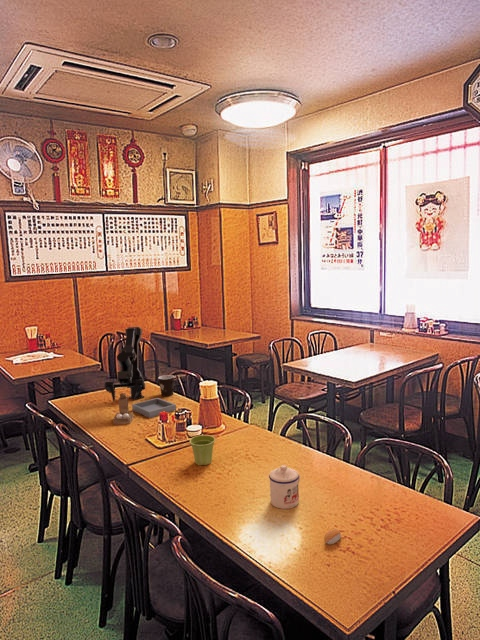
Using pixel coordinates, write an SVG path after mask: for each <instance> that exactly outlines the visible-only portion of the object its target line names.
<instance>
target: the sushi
mask: <svg viewBox="0 0 480 640" xmlns="http://www.w3.org/2000/svg"><path fill="white" fill-rule="evenodd" d="M341 534H342V532H341V531H340V530H339V529H338V528H331V529H329V530H328V531H327V532H325V534H324V537H323V539H324V540H323V541H324V542H325V543H326V544H327V545H334V544H335V543H337V542H339V541H340V539H341V536H342V535H341Z"/></svg>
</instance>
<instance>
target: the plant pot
mask: <svg viewBox="0 0 480 640" xmlns="http://www.w3.org/2000/svg"><path fill="white" fill-rule="evenodd" d="M215 442H216V437H214V436H213V435H208V434H201V435H195V436H193V437H191V438H190V439H189V443H190V446H191V448H192V453H193V459H194V463H195V464H196V465H198V466H207V465H210V464H211V463H212V461H213V451H214V445H215Z"/></svg>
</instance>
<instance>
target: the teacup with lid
mask: <svg viewBox="0 0 480 640" xmlns="http://www.w3.org/2000/svg"><path fill="white" fill-rule="evenodd" d="M268 478H269V489H270V492H269V493H270V503H271V505H272V506H273V507H275V508H277V509H281V510H282V509H283V510H286V509H287V510H288V509H289V510H290V509H292V508H295V507H296V506H298V504H299V502H300V495H299V493H300V492H299V483H300V479H301V478H300V473H298V471H297V470H295V469H294V468H291V467H287V465H285V464H282V465H280V467H277V468H275V469H272V470H271V471H270V472H269V475H268Z"/></svg>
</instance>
